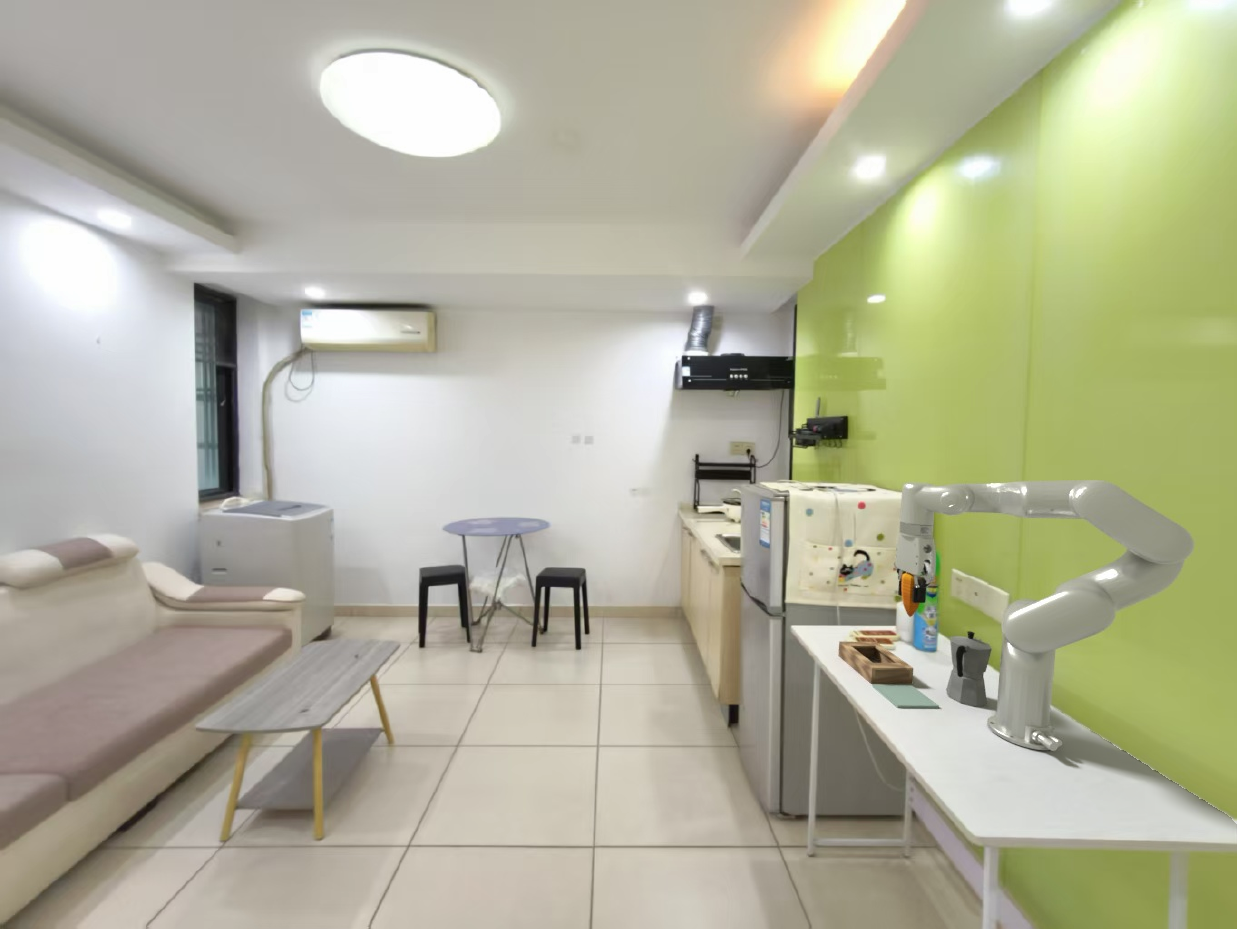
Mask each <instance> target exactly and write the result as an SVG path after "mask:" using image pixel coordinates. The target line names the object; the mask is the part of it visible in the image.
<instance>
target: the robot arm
mask: <svg viewBox="0 0 1237 929" xmlns="http://www.w3.org/2000/svg"><path fill="white" fill-rule="evenodd" d="M900 501H901V502H900V517H899V531H898V532H899V533H898V536H897V543H896V550H895V557H894V558H895V561H894V563H893V566H894V568H895V570H896V574H897V580H898V589H897V594H898V596H901V597H902V592H901V584H902V575H903V574H905V573H910V574H912V575H914V581H915V587H913V595H912V602H914V603H919V604H925V603H926V599H927V589H928V588H929V585H930V584H931V583H933V582H934V581H935V579H936V577H935V575H936V568H937V555H936V553H937V552H936V543H935V538H934V536H933V535H934V533H933V532H934V521H935V513H937V514H941V515H947V516H959V515H962V514H963V513H984V514H985V513H988V514H990V513H991V514H1005V515H1009V516H1014V517H1018V518H1025V519H1061V520H1062V519H1067V520H1068V519H1069V520H1070V519H1072V520H1073V519H1074V520H1075V519H1076V520H1085V521H1086V522H1087V523H1089V524H1090V525H1092V526H1093V527H1094V528H1096V529H1097V530H1099V531H1101V532H1102V533H1103V534H1105V535H1107V536H1108V537H1109V538H1111V539H1113V541H1116V542H1117V543H1119V544H1120V545H1122V546H1123V547H1125V548H1126V551H1125V552H1124V553H1123V554H1122V555H1121V556H1120V557H1118V558H1117V559H1115V560H1113V561H1112V562H1109V563H1107V564H1105V565H1103V566H1101V567H1099V568H1096V569H1094V570H1092V571H1090V572H1087V573H1084V574H1081V575H1080V576H1077V577H1075V578H1072V579H1070V580H1066V581H1064V582H1062V583H1060V584H1058V586H1057V587H1056V588H1055V590H1054V592H1053V594H1051V595H1048V596H1046V597H1044V598H1041V599H1040V600H1037V599H1033V598H1020V599H1017V600H1014V601H1012V602H1010V603H1009V604H1008V606H1007V607H1006V608H1005V610H1004V613H1003V615H1002V620H1001V627H1000V628H1001V633H1002V641H1001V651H1000V662H999V664H1000V665H999V675H998V676H999V677H998V687H997V688H998V689H997V698H996V699H997V701H996V714H995V715H991V716H988V717H987V721H986V722H987V727H988V728H989V730H991V731H992V733H994V734H995V735H997V736H999V737H1000V738H1002V739H1003V740H1006V741H1007V742H1010V743H1012V744H1014V745H1017V746H1020V747H1023V748H1027V749H1031V750H1037V751H1052V752H1055V751H1057V750H1058V748H1059V747H1061V746H1062V745H1063V741H1061V739H1059V738H1057V737H1055V735H1054V727H1053V726H1051V725H1050V717H1051V716H1050V715H1051V704H1052V692H1053V682H1054V680H1053V679H1054V674H1055V661H1056V650H1058V649H1061V648H1063V647H1066V646H1068V645H1071V644H1073V643H1074V644H1075V643H1077V642H1079V641H1082V640H1085V639H1088V638H1090V637H1093V636H1095V635H1098V634H1100V633H1102V632H1103V631H1105V630H1106V629H1108V628H1109V627H1111V625H1112V624H1113V622H1114V621H1115V618H1116V613H1117V612H1119V611H1121V610H1123V609H1126V608H1128V607H1130V606H1134V605H1136V604H1138V603H1140V602H1143V601H1145V600H1147V599H1150V598H1151V597H1153V596H1156V595H1158V594H1160V593H1162V591H1164V590H1166V589H1167V588H1169V587H1170V586H1171V585H1172V584H1173V583H1174V582H1175V581H1176V579H1177V578H1178V576H1179V575H1180V573H1181V572H1182V570H1183V567H1184V564H1185V560H1186V559H1188V558H1189V557H1190V556H1191V554H1192V553H1193V551H1194V549H1195V541H1194V538H1193V536H1192V534H1191V533H1190V532H1189V531H1188V529H1186V528H1185V527H1184V526H1182V525H1181V524H1178V523H1177V522H1175V521H1174V520H1172V519H1170V518H1169V517H1167V516H1165V515H1164V514H1162V513H1161V512H1159V511H1157V510H1155V509H1154V508H1152V507H1150V506H1149V505H1147V504H1146V503H1144V502H1142V501H1141V500H1139V499H1137V498H1136V497H1134V496H1133V495H1131V494H1130V493H1128V492H1127V491H1125V490H1124V489H1123V488H1121V487H1119V486H1118V485H1116V484H1115V483H1112V482H1110V481H1106V480H1102V479H1101V480H1100V479H1080V480H1079V479H1074V480H1072V479H1071V480H1069V479H1067V480H1020V481H1019V480H1018V481H1017V480H1016V481H1012V482H1011V481H1009V482H988V483H986V482H984V483H979V482H978V483H974V482H973V483H972V482H971V483H952V484H951V483H950V484H946V485H945V484H944V485H934V484H931V483H927V482H906V483H904V484H903V485H902V487H901V500H900ZM919 578H922V580H921V581H920V582H919Z"/></svg>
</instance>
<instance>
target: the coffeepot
mask: <svg viewBox="0 0 1237 929" xmlns="http://www.w3.org/2000/svg"><path fill="white" fill-rule="evenodd" d="M966 632H967V636H962V635H957V636H949V641H950V653H951V663H952V665H953V666H952V669H951V670H950V671H951V672H950V675H949V679H948V683H947V685H946V690H945V691H946V695H947V696H948V697H949V698H950V699H952V700H953V701H955V702H957V703H960V704H962V705H966V706H970V707H977V708H978V707H979V708H980V707H981V708H982V707H984V706H986V705H988V702H987V693H986V692H987V691H986V686H985V678H984V674H985V673H986V672H987V668H988V665H989V660H990V657H991V653H992V647H991V645H990V643H987V642H984V641H982V639H980V638H977V637H974V636H975V634H976V633H975V632H974V631H972V630H971V631H970V630H969V631H966Z"/></svg>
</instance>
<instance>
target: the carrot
mask: <svg viewBox="0 0 1237 929" xmlns="http://www.w3.org/2000/svg"><path fill="white" fill-rule="evenodd" d="M921 580H922V578H919V582H920V581H921ZM913 587H915V581H914V575H912V574H910V573H907V572H906V573H905V574H903V575H902V584H901V592H902V596H901V598H902V600H901V601H902V604H903V607H904V610H905V612H906V614H907V615H908V617H910V618H911V617H913V616H914V615H915V613H916V612H917V610H918V608H919V606H920V603H914V602H912V595H913Z"/></svg>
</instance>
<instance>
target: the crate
mask: <svg viewBox="0 0 1237 929" xmlns="http://www.w3.org/2000/svg"><path fill="white" fill-rule="evenodd" d="M837 655H838V657H839V658H840V659H842V661H843V662H845V663H846V664H847V665H848V666H849V667H850V668H852V669H853V671H855V672H856V673H857V674H859V675H860V676H861V677H863V679H865V680H866V681H867V682H869V684H871V685H873V684H897V685H913V683H914V682H913V680H914V667H913V666H911V665H910V664H908V663H907V662H905V661H904V660H902V659H901V658H899V656H897V655H896V654H894V653H893V652H891V651H890V650H888V649H886V648H885V647H884V646H882V644H880V643H878V642H877V641H839V642H838V654H837ZM869 658H870V659H871V658H872V659H873V658H874V659H875V660H876V661H878V662H872V661H871V660H870V659H869Z"/></svg>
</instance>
